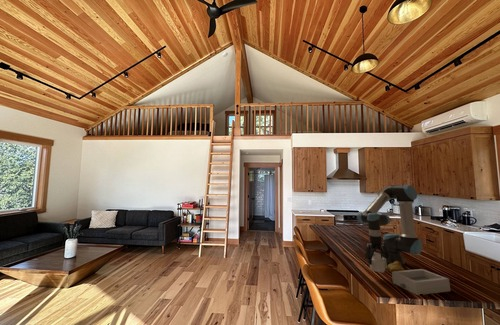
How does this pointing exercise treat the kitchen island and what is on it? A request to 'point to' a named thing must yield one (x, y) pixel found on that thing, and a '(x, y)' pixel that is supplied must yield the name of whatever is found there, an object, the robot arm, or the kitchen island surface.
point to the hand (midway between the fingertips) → (378, 268)
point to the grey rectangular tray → (421, 281)
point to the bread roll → (395, 267)
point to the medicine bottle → (378, 262)
